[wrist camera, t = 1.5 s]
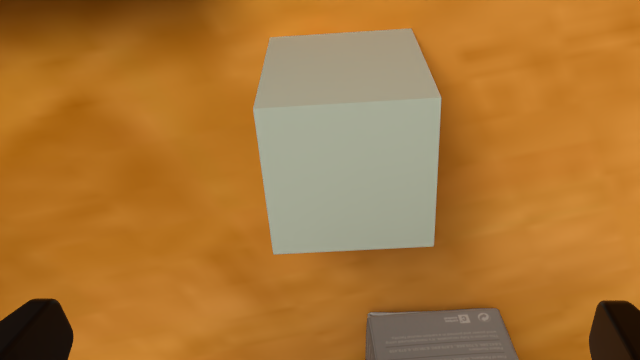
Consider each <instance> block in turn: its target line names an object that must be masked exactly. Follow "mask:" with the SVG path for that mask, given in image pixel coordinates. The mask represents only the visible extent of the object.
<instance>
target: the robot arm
mask: <svg viewBox="0 0 640 360" xmlns="http://www.w3.org/2000/svg"><path fill="white" fill-rule="evenodd" d="M72 343H73V330H72V328H71V325H70V323H69V321H68V319H67V317H66V315H65V313H64V311H63V309H62V307H61V305H60V303H59V302H58V301H57V300H55V299H32V300H30V301H28V302H27V303H25V304H24V305H22V306H21V307H20V308H18V309H17V310H15V311H14V312H13V313H11V314H10V315H8V316H7V317H6V318H4V319H3V320H1V321H0V360H68V357H69V353H70V350H71V347H72ZM589 347H590V353H591V358H592V360H640V310H638V309H637V308H636V307H635V306H634V305H633V304H631V303H629V302H628V301H601V302H599V304H598V306H597V308H596V312H595V316H594V320H593V324H592V328H591V332H590V336H589Z"/></svg>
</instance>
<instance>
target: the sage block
mask: <svg viewBox="0 0 640 360" xmlns="http://www.w3.org/2000/svg"><path fill="white" fill-rule="evenodd" d="M253 111H254V118H255V125H256V133H257V140H258V147H259V154H260V161H261V169H262V176H263V183H264V190H265V198H266V205H267V212H268V219H269V226H270V234H271V241H272V248H273V254H292V253H312V252H332V251H352V250H372V249H392V248H412V247H432V246H434V235H435V215H436V195H437V175H438V155H439V135H440V115H441V95H440V93H439V91H438V89H437V86H436V84H435V82H434V79H433V77H432V75H431V72H430V70H429V68H428V66H427V63H426V61H425V59H424V56H423V54H422V52H421V49H420V47H419V45H418V43H417V40H416V38H415V36H414V33H413V31H412V29H396V30H380V31H364V32H348V33H332V34H316V35H300V36H285V37H270V40H269V44H268V48H267V52H266V57H265V61H264V65H263V69H262V73H261V78H260V82H259V86H258V90H257V95H256V99H255V103H254V107H253Z"/></svg>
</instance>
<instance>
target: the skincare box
mask: <svg viewBox="0 0 640 360" xmlns="http://www.w3.org/2000/svg"><path fill="white" fill-rule="evenodd" d="M366 360H519V359H518V356H517V354H516V351H515V349H514V347H513V344H512V342H511V339H510V336H509V334H508V331H507V329H506V327H505V324H504V322H503V320H502V317H501V315H500V312H499V310H498V309H496V308H477V309H460V310H445V311H426V312H370V313H369V314H368V318H367V329H366Z"/></svg>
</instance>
